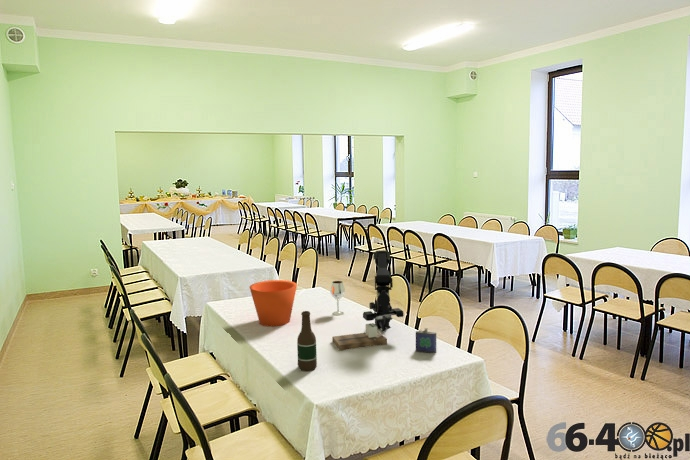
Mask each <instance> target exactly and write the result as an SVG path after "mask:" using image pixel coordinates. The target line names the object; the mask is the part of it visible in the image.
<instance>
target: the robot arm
mask: <svg viewBox="0 0 690 460" xmlns="http://www.w3.org/2000/svg"><path fill="white" fill-rule="evenodd" d="M390 259H391V252H390V251H388V250H375V251H373V260H374V263H375V265H376V267H377V270H376V272H375V273H376V275H375V276H374V291H376V300H375V302H373V301H372V302H369V305H368V306H369V311H363V313H362V318H363V319H364V320H365V321H366V322H368V321H374V324H375V325H376V326H377V330H381V331H382V333H385V331H386V329H389V328H391V325H390V322H391V320H392V321H393V317H392V316H396V317H397V318H403V317H404V310H402V309H400V308H399V307H397V308H396V307H395V308H393V307H392V305H391V297H390V291H392V288H393V285H394V284H393V277H392V276H391V274H390V271H389V270H388V267H387V266H388V264H389V260H390ZM372 310H373V311H372Z"/></svg>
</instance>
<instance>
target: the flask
mask: <svg viewBox="0 0 690 460" xmlns="http://www.w3.org/2000/svg"><path fill="white" fill-rule="evenodd" d="M428 330H429V329H428V328H427V327H425V328H424V330H423V329H422V330H420V329H419V330H416V331H415V351H416V352H417V351H418V352H417V353H427V354H428V353H429V354H434V353H437V332H436V331H428Z"/></svg>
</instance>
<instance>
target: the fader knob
mask: <svg viewBox="0 0 690 460" xmlns="http://www.w3.org/2000/svg"><path fill="white" fill-rule="evenodd" d="M377 331H378V328H377V326H376V325H375V322H373V323H365V333H366V335H367V336H368V337H369V338H371V337H377Z"/></svg>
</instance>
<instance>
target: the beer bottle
mask: <svg viewBox="0 0 690 460" xmlns="http://www.w3.org/2000/svg"><path fill="white" fill-rule="evenodd" d="M300 315H301V328H300V332H299V334H298V336H297V338H296V339H297V340H296V341H297V342H296V345H297V346H296V347H297V368H298V369H299V371H302V372H311V371H315V369H316V368H317V367H318V366H317V364H318V361H317V360H318V359H317V358H318V357H317V356H318V355H317V337H316V335H315V333H314V332H313V330H312V325H311V316H310V315H311V312H310V311H309V310H304V311H301V314H300Z"/></svg>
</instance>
